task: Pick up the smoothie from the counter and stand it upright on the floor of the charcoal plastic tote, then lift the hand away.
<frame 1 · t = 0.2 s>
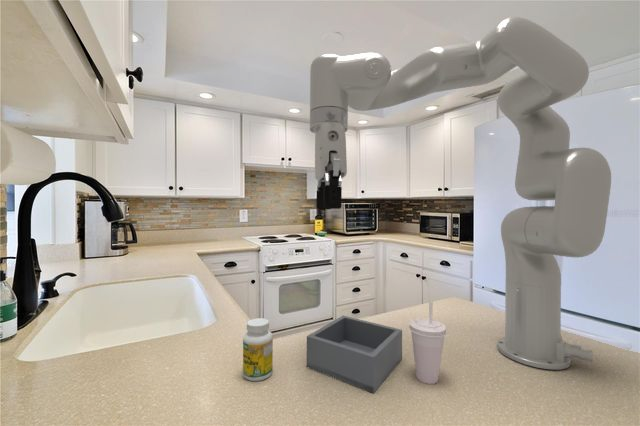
hand: (327, 208, 57), 31 cm above the countertop, tool pointing down, fingers open, 9 cm apart
tote: (355, 362, 57), on the countertop
supplement bottle: (257, 374, 53), on the countertop
smoothie: (426, 378, 52), on the countertop
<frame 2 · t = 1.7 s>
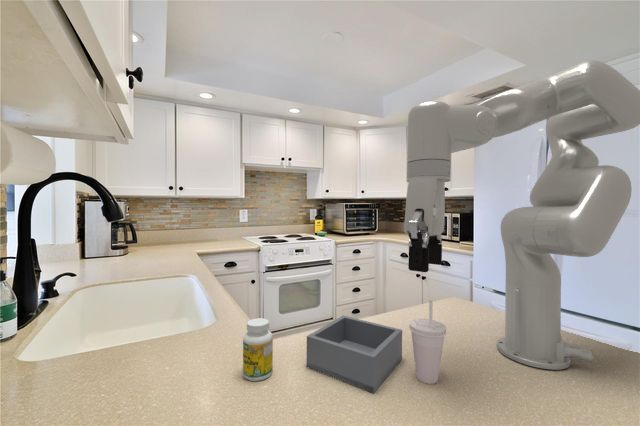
hand: (426, 267, 52), 20 cm above the countertop, tool pointing down, fingers open, 9 cm apart
nothing on the countertop moved.
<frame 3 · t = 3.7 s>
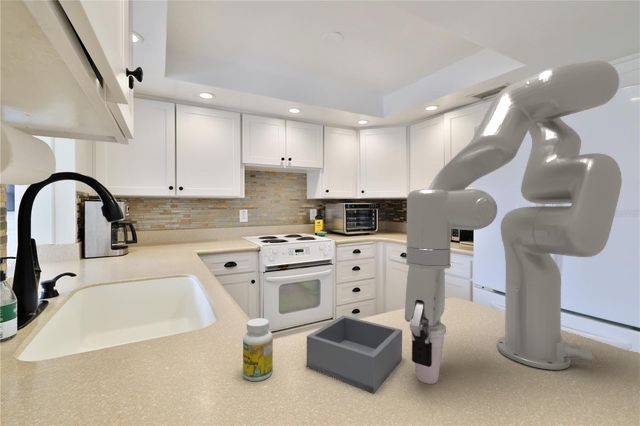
hand: (427, 354, 52), 4 cm above the countertop, tool pointing down, fingers closed on smoothie, 6 cm apart
smoothie: (426, 378, 52), on the countertop, touching gripper
everything else where it was.
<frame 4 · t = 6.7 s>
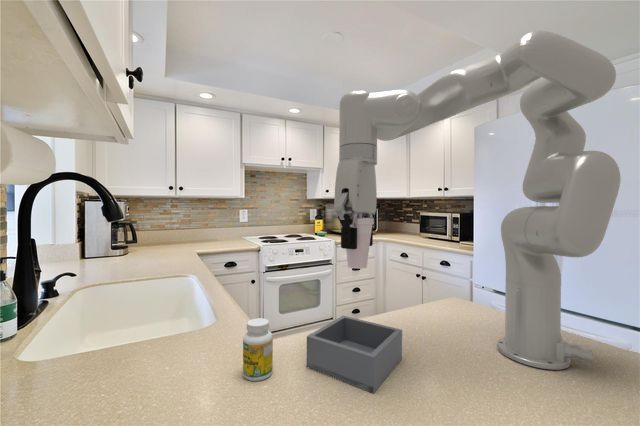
hand: (357, 246, 57), 23 cm above the countertop, tool pointing down, fingers closed on smoothie, 6 cm apart
smoothie: (357, 267, 57), point 19 cm above the countertop, touching gripper
everything else where it was.
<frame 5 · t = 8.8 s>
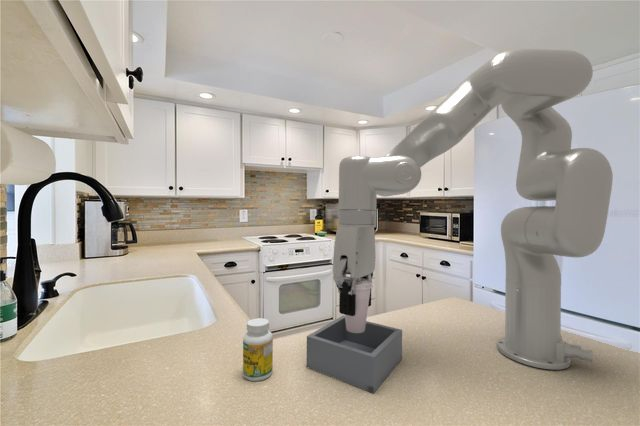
hand: (355, 308, 57), 11 cm above the countertop, tool pointing down, fingers closed on smoothie, 6 cm apart
smoothie: (355, 330, 57), point 7 cm above the countertop, touching gripper
everything else where it was.
when the fingers open (7 cm above the countertop, at t = 10.2 s): smoothie drops 2 cm, resting on tote.
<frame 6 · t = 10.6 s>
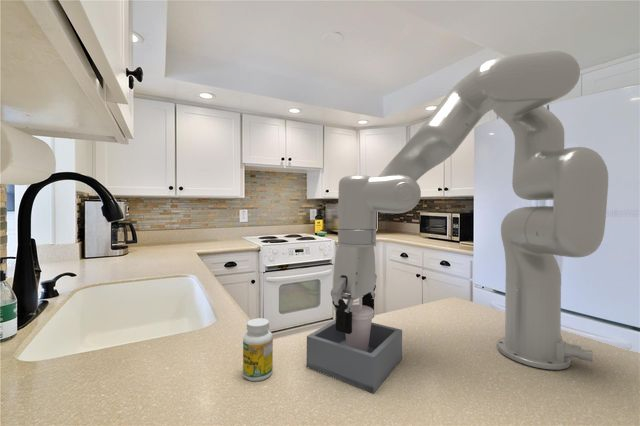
hand: (356, 323, 57), 8 cm above the countertop, tool pointing down, fingers open, 9 cm apart
smoothie: (357, 358, 57), point 1 cm above the countertop, touching tote
everything else where it was.
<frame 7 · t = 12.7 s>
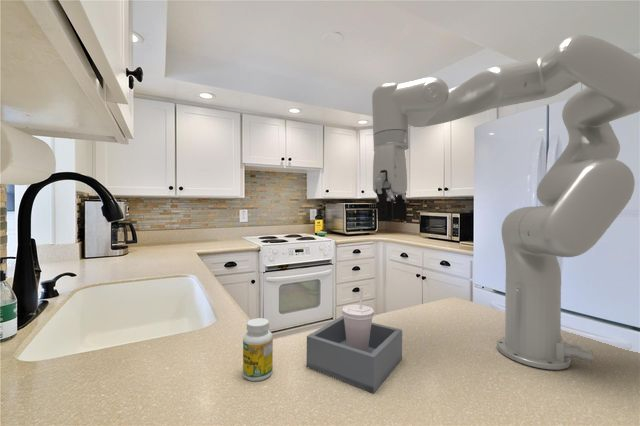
hand: (393, 220, 63), 28 cm above the countertop, tool pointing down, fingers open, 9 cm apart
nothing on the countertop moved.
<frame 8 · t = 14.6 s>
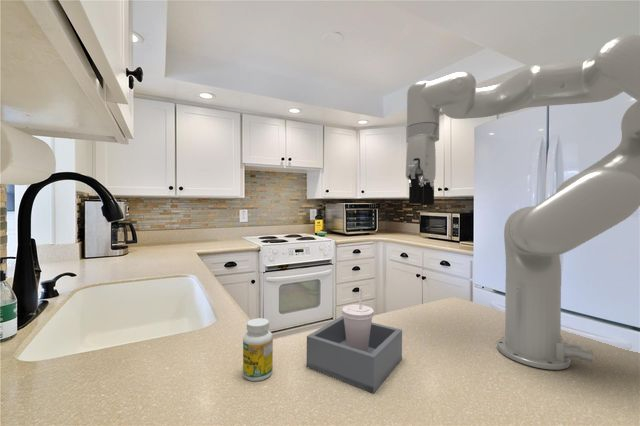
hand: (422, 204, 71), 32 cm above the countertop, tool pointing down, fingers open, 9 cm apart
nothing on the countertop moved.
at the end: smoothie inside the target area on the tote (0.4 cm from its centre), point 0.8 cm above the tote's base; smoothie tilted 0°; the gripper is holding nothing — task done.
